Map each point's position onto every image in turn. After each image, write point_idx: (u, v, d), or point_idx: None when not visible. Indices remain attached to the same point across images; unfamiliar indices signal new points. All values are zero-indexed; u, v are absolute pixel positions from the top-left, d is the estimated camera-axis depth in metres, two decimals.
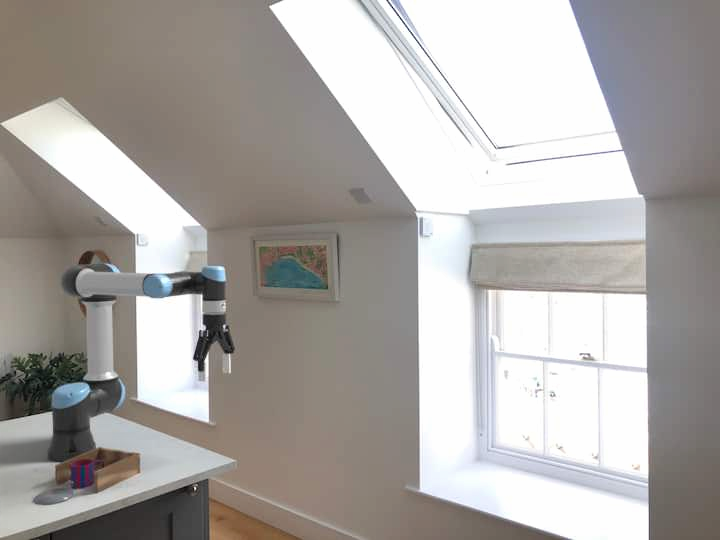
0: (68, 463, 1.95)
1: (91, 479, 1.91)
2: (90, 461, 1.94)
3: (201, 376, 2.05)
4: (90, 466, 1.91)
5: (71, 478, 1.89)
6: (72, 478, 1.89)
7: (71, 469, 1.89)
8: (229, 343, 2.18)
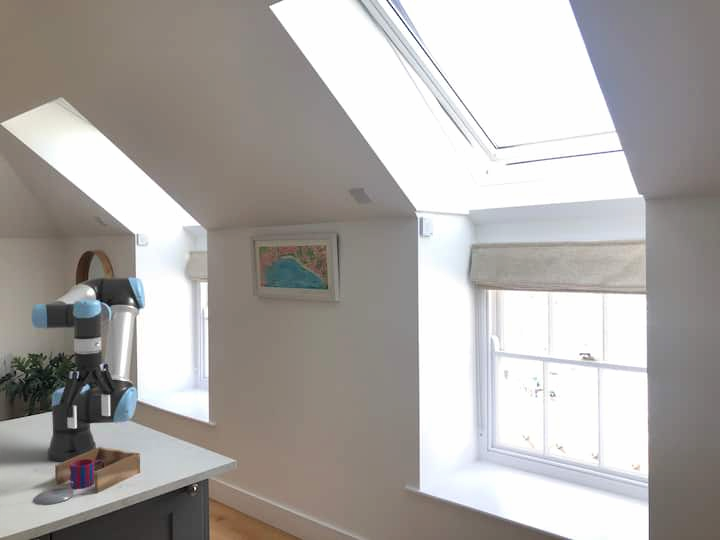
0: (68, 463, 1.95)
1: (91, 479, 1.91)
2: (90, 461, 1.94)
3: (70, 422, 1.86)
4: (90, 466, 1.91)
5: (71, 478, 1.89)
6: (72, 478, 1.89)
7: (71, 469, 1.89)
8: (109, 383, 1.99)
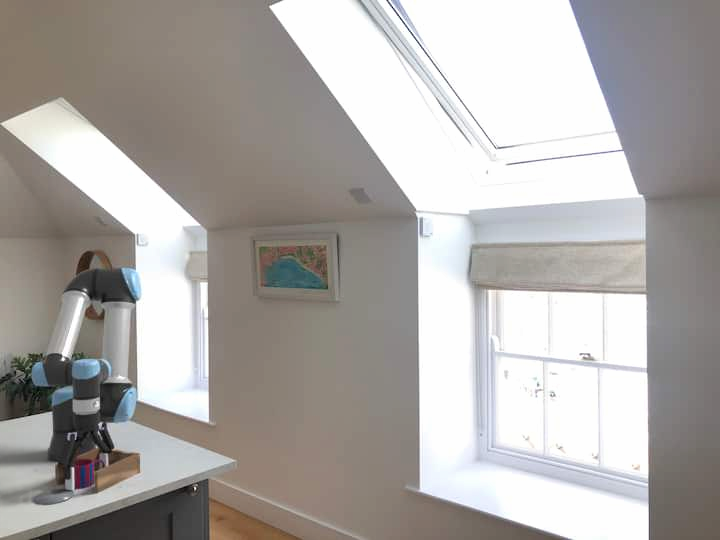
0: (68, 463, 1.95)
1: (91, 479, 1.91)
2: (90, 461, 1.94)
3: (68, 484, 1.86)
4: (90, 466, 1.91)
5: None
6: None
7: None
8: (107, 441, 1.99)
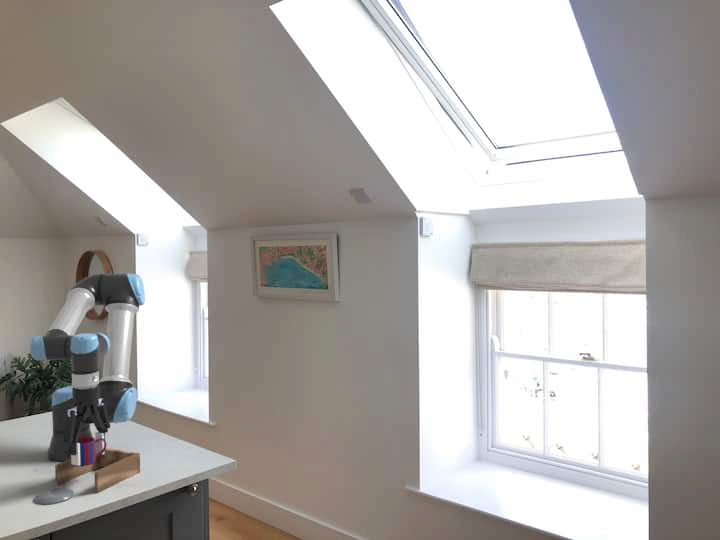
0: (68, 463, 1.95)
1: (91, 457, 1.91)
2: (92, 439, 1.95)
3: (74, 459, 1.89)
4: (90, 444, 1.91)
5: None
6: None
7: None
8: (104, 419, 1.98)
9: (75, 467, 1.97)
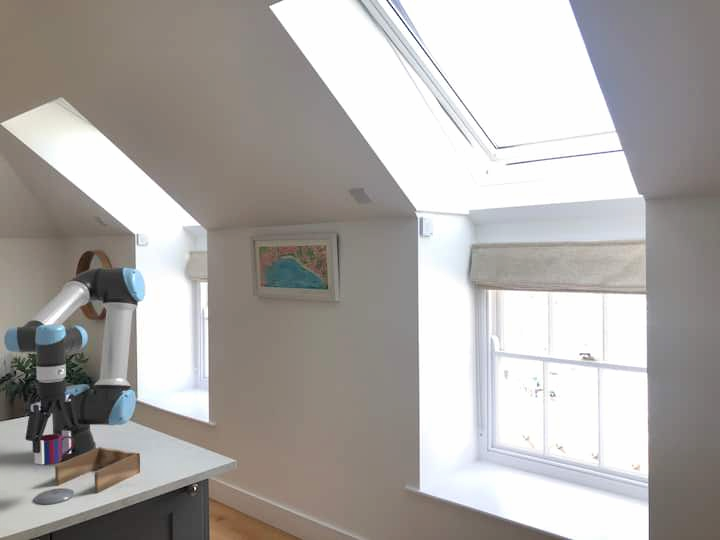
0: (68, 463, 1.95)
1: (57, 455, 1.80)
2: (58, 437, 1.83)
3: (37, 458, 1.77)
4: (56, 442, 1.80)
5: None
6: None
7: None
8: (71, 416, 1.87)
9: (75, 467, 1.97)
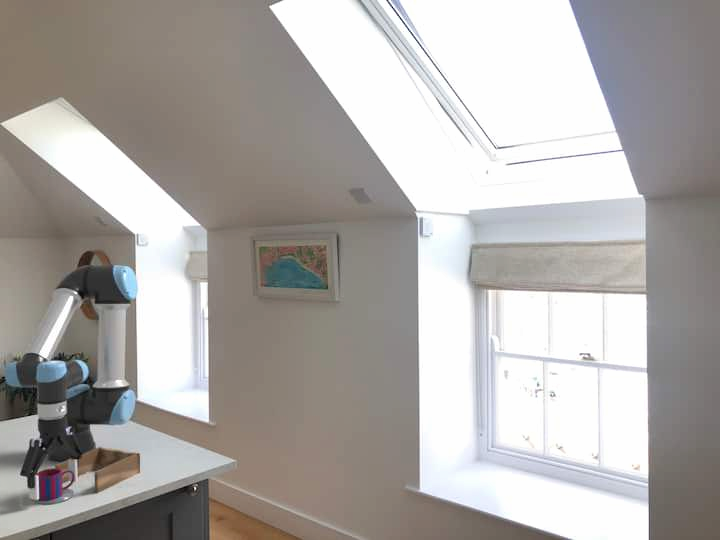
0: None
1: (57, 491, 1.81)
2: (59, 471, 1.84)
3: (32, 493, 1.76)
4: (56, 477, 1.80)
5: None
6: None
7: None
8: (76, 447, 1.89)
9: None
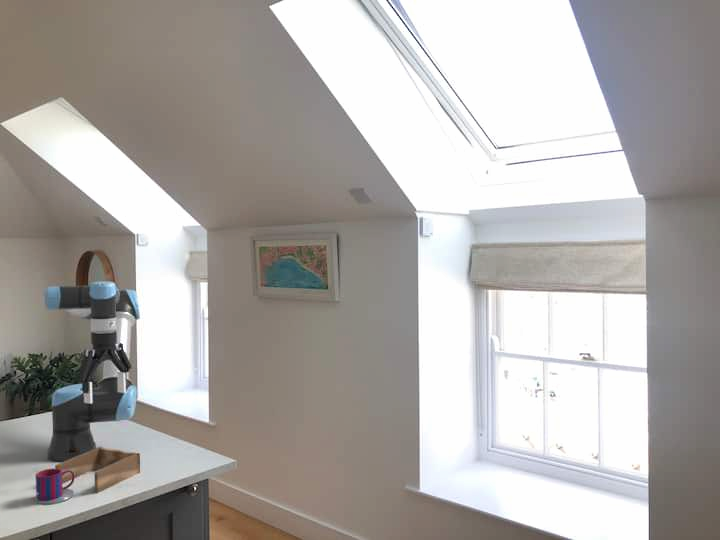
0: (68, 463, 1.95)
1: (57, 491, 1.81)
2: (59, 471, 1.84)
3: (86, 398, 1.96)
4: (56, 477, 1.80)
5: (36, 489, 1.79)
6: (37, 489, 1.79)
7: (36, 479, 1.79)
8: (124, 361, 2.09)
9: (75, 467, 1.97)
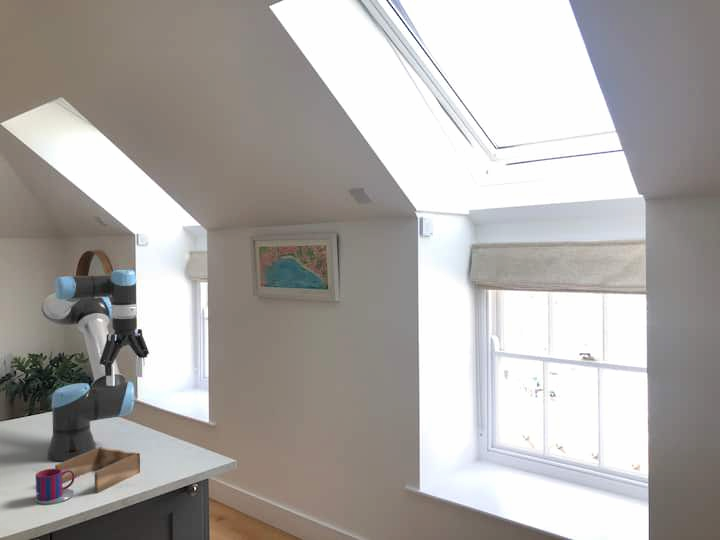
0: (68, 463, 1.95)
1: (57, 491, 1.81)
2: (59, 471, 1.84)
3: (109, 380, 2.05)
4: (56, 477, 1.80)
5: (36, 489, 1.79)
6: (37, 489, 1.79)
7: (36, 479, 1.79)
8: (142, 347, 2.18)
9: (75, 467, 1.97)
